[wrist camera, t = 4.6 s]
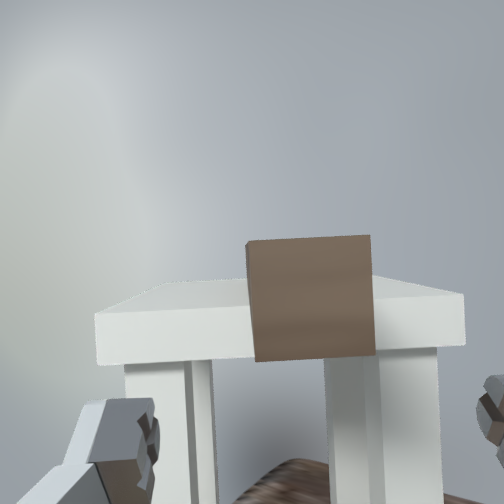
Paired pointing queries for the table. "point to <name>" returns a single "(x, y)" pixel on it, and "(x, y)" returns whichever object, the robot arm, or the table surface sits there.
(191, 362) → the stool
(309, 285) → the wooden board
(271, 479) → the table surface
